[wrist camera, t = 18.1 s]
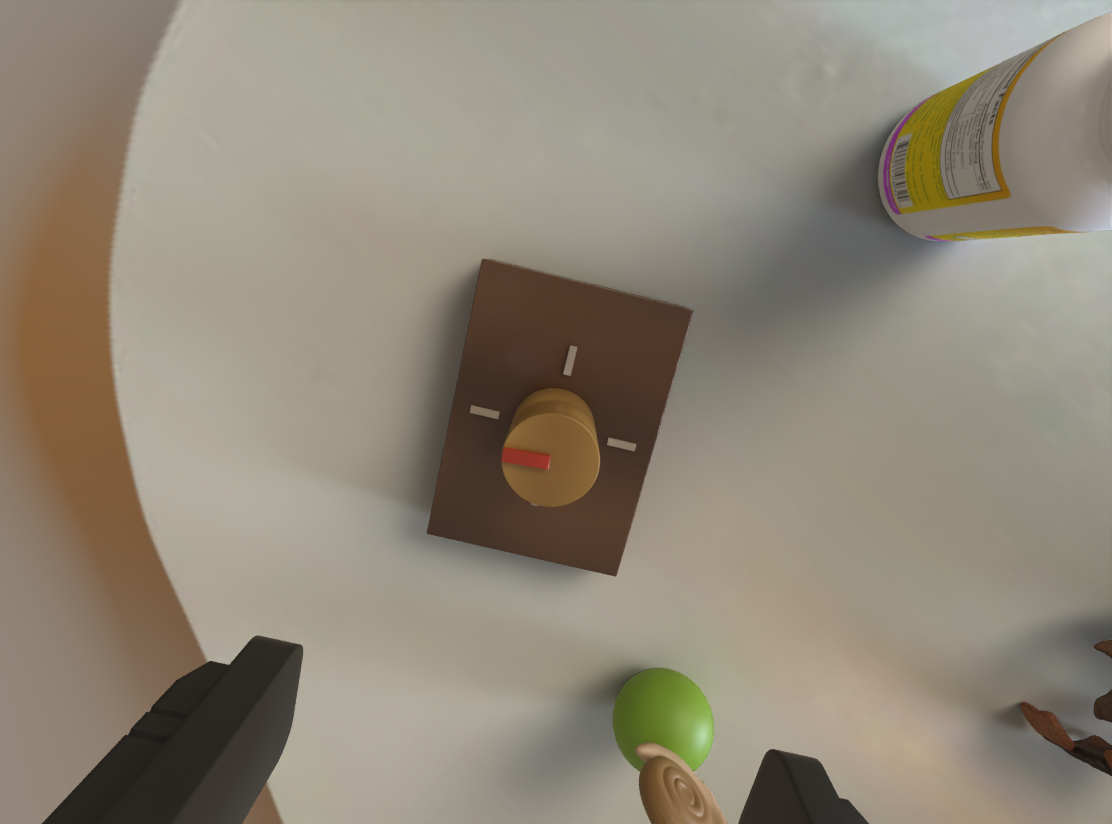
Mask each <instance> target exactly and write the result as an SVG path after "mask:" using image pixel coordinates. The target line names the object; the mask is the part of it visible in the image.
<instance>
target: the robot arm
mask: <svg viewBox="0 0 1112 824" xmlns="http://www.w3.org/2000/svg"><path fill="white" fill-rule="evenodd" d="M302 658H303V647H302V645H300V644H295V643H291V642H286V641H281V640H277V639H272V638H268V637H263V636H255V637H253V638H252V639H251V640H250V641H249V642H248V643H247V645H246V646H245V647H244V648H243V649H242V651H241V652H240V653H239V654H238V655H237V657H236V658H235V659H234V660H233V661H232V662H231V664H230V665H227V664H222V663H218V662H213V661H209V662H208V663H206V664H204V665H202V666H201V667H199V668H197V669H195V670H194V671H192V672H190V673H188V674H187V675H185V676H183V677H181V678H180V679H178V680H176V681H175V682H174V683H173V685H172V686H171V687H170V688H169V689H168V690H167V691H166V692H165V693H164V694H163V695H162V696H161V697H160V698H159V700H158V701H157V702H156V703H155V704H154V705H153V706H152V708H151V710H150V712H146V713H145V714H144V716H143V717H142V718H141V719H140V720H139V721H138V722H137V723H136V724H135V725H134V726H133V727H132V728H131V730H130V733H129V734H128V735H125V736H124V737H123V738H122V739H121V740H120V741H119V742H118V743H117V744H116V746H114V747H113V749H112V750H111V751H110V752H109V753H108V754H107V755H106V756H105V757H104V758H103V759H102V760H101V761H100V762H99V764H98V765H97V766H96V767H95V768H94V769H93V770H92V771H91V772H90V773H89V774H88V775H87V776H86V777H85V778H84V779H83V781H82V782H81V783H80V784H79V785H78V786H77V787H76V788H75V789H74V790H73V791H72V792H71V793H70V794H69V795H68V797H67V798H66V799H65V800H64V801H63V802H62V803H61V804H60V805H59V806H58V807H57V808H56V809H55V810H54V812H53V813H52V814H51V815H50V816H49V817H48V818H47V819H46V820H45V821H44V822H43V823H42V824H242V823H243V821H244V819H245V818H246V816H247V814H248V813H249V811H250V809H251V807H252V806H253V804H254V802H255V801H256V799H257V797H258V795H259V794H260V792H261V790H262V788H263V787H264V785H265V783H266V782H267V780H268V778H269V776H270V775H271V773H272V771H273V770H274V768H275V766H276V764H277V763H278V761H279V759H280V757H281V754H282V752H283V750H284V747H285V745H286V742H287V739H288V736H289V733H290V730H291V726H292V722H293V716H294V710H295V703H296V697H297V690H298V684H299V678H300V671H301V665H302ZM739 824H869V823H868V822H867V821H866V820H865V819H864V818H863V816H862V815H861V814H860V813H859V812H858V811H857V810H856V808H855V807H854V806H853V805H852V804H851V803H850V802H849V800H846V799H841V798H839V797H838V795H837V793H836V791H835V789H834V787H833V785H832V783H831V781H830V779H829V777H828V775H827V773H826V771H825V769H824V767H823V766H822V764H821V763H820V762H819V761H818V760H817V759H815V758H812V757H807V756H803V755H798V754H793V753H789V752H784V751H780V750H775V749H771V750H769V751H768V752H767V753H766V754H765V756H764V758H763V760H762V763H761V766H760V768H759V771H758V773H757V776H756V778H755V781H754V783H753V786H752V789H751V791H750V794H749V796H748V799H747V801H746V804H745V806H744V809H743V812H742V814H741V817H740V820H739Z"/></svg>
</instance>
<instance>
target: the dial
mask: <svg viewBox="0 0 1112 824" xmlns="http://www.w3.org/2000/svg"><path fill="white" fill-rule="evenodd" d="M501 463H502V470H503V473H504V476H505V478H506V480H507V482H508V484H509V485H510V487H511V488H512V489H513V490H514V492H515V493H517V494H518V495H519V496H520V497H521V498H523V499H524V500H526V501H528V502H530V503H533V504H536V505H539V506H545V507H557V506H563V505H567V504H569V503H572V502H574V501H576V500H578V499H579V498H581V497H582V496H583V495H584V494H585V493H587V492H588V490H589V489H590V488H591V487H592V485H593V484H594V482H595V480H596V478H597V475H598V472H599V467H600V453H599V447H598V441H597V435H596V429H595V423H594V418H593V415H592V413H591V410H590V409H589V407H588V405H587V404H586V403H585V402H584V401H583V400H582V399H581V398H580V397H579V396H577V395H576V394H574V393H572V392H570V391H568V390H564V389H560V388H547V389H542V390H539V391H536V392H534V393H532V394H531V395H529V396H528V397H527V398H525V399H524V400H523V401H522V402H521V404H520V405H519V406H518V408H517V410H516V412H515V415H514V417H513V420H512V423H511V426H510V429H509V431H508V434H507V437H506V440H505V443H504V446H503V450H502V456H501Z"/></svg>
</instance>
